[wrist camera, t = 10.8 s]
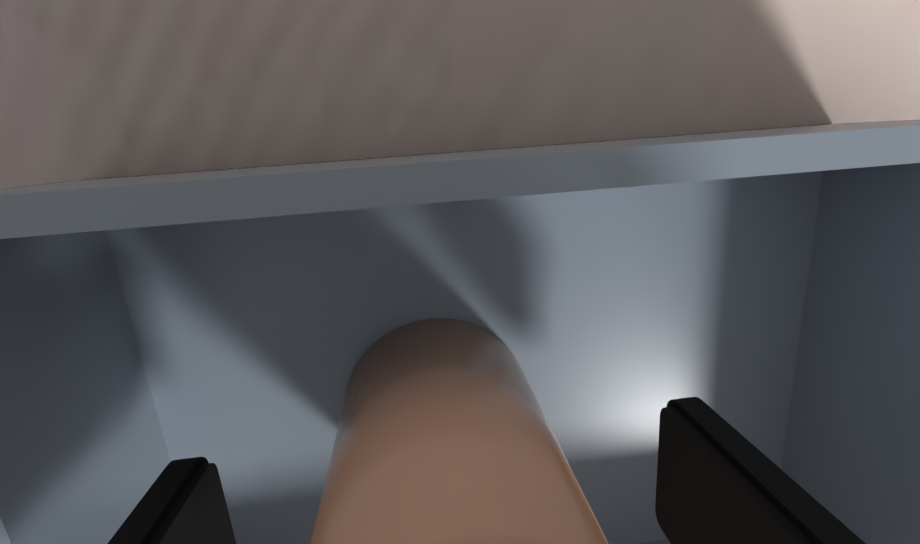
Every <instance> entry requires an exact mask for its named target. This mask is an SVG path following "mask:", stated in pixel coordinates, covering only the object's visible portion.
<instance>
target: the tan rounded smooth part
mask: <svg viewBox="0 0 920 544" xmlns="http://www.w3.org/2000/svg"><path fill="white" fill-rule="evenodd" d="M310 544H609V543H608V541H607V539H606V537H605V535H604V533H603V531H602V529H601V527H600V525H599V523H598V521H597V519H596V517H595V515H594V513H593V511H592V509H591V507H590V505H589V503H588V501H587V499H586V497H585V495H584V493H583V491H582V489H581V487H580V485H579V483H578V481H577V479H576V477H575V475H574V473H573V471H572V469H571V467H570V465H569V463H568V461H567V459H566V457H565V455H564V453H563V451H562V449H561V447H560V445H559V443H558V441H557V439H556V437H555V435H554V433H553V431H552V429H551V427H550V425H549V423H548V421H547V419H546V417H545V415H544V413H543V411H542V409H541V407H540V405H539V403H538V401H537V399H536V397H535V395H534V393H533V391H532V389H531V387H530V385H529V383H528V381H527V379H526V377H525V375H524V373H523V371H522V369H521V367H520V365H519V363H518V361H517V359H516V358H515V356H514V354H513V353H512V352H511V351H510V349H509V348H508V347H507V346H506V345H505V344H504V343H503V342H502V341H501V340H500V339H499V338H498V337H496V336H495V335H493V334H492V333H491V332H489V331H487V330H485V329H483V328H481V327H480V326H477V325H474V324H471V323H469V322H465V321H460V320H456V319H445V318H439V319H426V320H420V321H416V322H412V323H409V324H406V325H403V326H401V327H398V328H396V329H394V330H392V331H391V332H389V333H387V334H385V335H384V336H382V337H381V338H380V339H378V340H377V341H376V342H375V343H374V344H373V345H371V346H370V347H369V348H368V349H367V350H366V352H365V353H364V354H363V355H362V357H361V358H360V359H359V361H358V362H357V364H356V366H355V368H354V369H353V372H352V374H351V377H350V379H349V382H348V387H347V391H346V395H345V399H344V404H343V408H342V412H341V416H340V420H339V425H338V429H337V433H336V437H335V442H334V446H333V450H332V454H331V459H330V463H329V467H328V471H327V475H326V480H325V484H324V488H323V492H322V497H321V501H320V505H319V509H318V514H317V518H316V522H315V526H314V530H313V535H312V539H311V543H310Z"/></svg>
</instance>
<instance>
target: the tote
mask: <svg viewBox="0 0 920 544" xmlns="http://www.w3.org/2000/svg"><path fill="white" fill-rule="evenodd" d="M439 318H445V319H456V320H460V321H465V322H469V323H471V324H474V325H477V326H480V327H481V328H483V329H485V330H487V331H489V332H491V333H492V334H493V335H495V336H496V337H498V338H499V339H500V340H501V341H502V342H503V343H504V344H505V345H506V346H507V347H508V348H509V349H510V351H511V352H512V353H513V354H514V356H515V358H516V359H517V361H518V363H519V365H520V367H521V369H522V371H523V373H524V375H525V377H526V379H527V381H528V383H529V385H530V387H531V389H532V391H533V393H534V395H535V397H536V399H537V401H538V403H539V405H540V407H541V409H542V411H543V413H544V415H545V417H546V419H547V421H548V423H549V425H550V427H551V429H552V431H553V433H554V435H555V437H556V439H557V441H558V443H559V445H560V447H561V449H562V451H563V453H564V455H565V457H566V459H567V461H568V463H569V465H570V467H571V469H572V471H573V473H574V475H575V477H576V479H577V481H578V483H579V485H580V487H581V489H582V491H583V493H584V495H585V497H586V499H587V501H588V503H589V505H590V507H591V509H592V511H593V513H594V515H595V517H596V519H597V521H598V523H599V525H600V527H601V529H602V531H603V533H604V535H605V537H606V539H607V541H608V543H609V544H671V543H670V542H669V540H668V539H667V537H666V536H665V534H664V532H663V531H662V529H661V528H660V526H659V523H658V521H657V517H656V513H655V502H656V483H657V463H658V444H659V425H660V412H661V409H662V408H664V407H667V403H668V401H670V400H672V399H680V398H688V397H698V398H700V399H701V400H703V401H704V402H705V403H706V404H707V405H708V406H709V407H711V408H712V409H713V410H714V411H715V412H716V413H717V414H719V415H720V416H721V417H722V418H723V419H724V420H725V421H727V422H728V423H729V424H730V425H731V426H732V427H733V428H735V429H736V430H737V431H738V432H739V433H740V434H741V435H743V436H744V437H745V438H746V439H747V440H748V441H749V442H751V443H752V444H753V445H754V446H755V447H756V448H757V449H759V450H760V451H761V452H762V453H763V454H764V455H765V456H767V457H768V458H769V459H770V460H771V461H772V462H773V463H774V464H776V465H777V466H778V467H779V468H780V469H781V470H782V471H784V472H785V473H786V474H787V475H788V476H789V477H790V478H792V479H793V480H794V481H795V482H796V483H797V484H798V485H800V486H801V487H802V488H803V489H804V490H805V491H806V492H808V493H809V494H810V495H811V496H812V497H813V498H814V499H816V500H817V501H818V502H819V503H820V504H821V505H822V506H824V507H825V508H826V509H827V510H828V511H829V512H830V513H832V514H833V515H834V516H835V517H836V518H837V519H838V520H840V521H841V522H842V523H843V524H844V525H845V526H846V527H848V528H849V529H850V530H851V531H852V532H853V533H854V534H856V535H857V536H858V537H859V538H860V539H861V540H862V541H864V542H865V543H866V544H920V120H906V121H885V122H863V123H842V124H826V125H813V126H799V127H786V128H772V129H759V130H746V131H732V132H719V133H706V134H692V135H679V136H666V137H652V138H639V139H625V140H612V141H599V142H585V143H572V144H559V145H545V146H532V147H519V148H505V149H492V150H479V151H465V152H452V153H438V154H425V155H412V156H398V157H385V158H372V159H358V160H345V161H332V162H318V163H305V164H291V165H278V166H265V167H251V168H238V169H225V170H211V171H198V172H185V173H171V174H158V175H145V176H131V177H118V178H104V179H91V180H78V181H69V182H60V183H51V184H42V185H33V186H24V187H14V188H5V189H0V544H108V542H109V541H110V540H111V538H112V537H113V536H114V534H115V533H116V532H117V530H118V529H119V528H120V526H121V525H122V524H123V523H124V521H125V520H126V519H127V517H128V516H129V515H130V513H131V512H132V511H133V509H134V508H135V507H136V505H137V504H138V503H139V502H140V500H141V499H142V498H143V496H144V495H145V494H146V492H147V491H148V490H149V488H150V487H151V486H152V484H153V483H154V482H155V481H156V479H157V478H158V477H159V475H160V474H161V473H162V471H163V470H164V469H165V467H166V466H167V465H168V464H169V463H170V462H171V461H173V460H178V459H186V458H194V457H205V458H206V459H207V460H208V463H215V464H216V466H217V468H218V472H219V476H220V480H221V484H222V488H223V492H224V496H225V500H226V504H227V508H228V512H229V516H230V520H231V524H232V528H233V532H234V536H235V540H236V544H310V543H311V539H312V535H313V530H314V526H315V522H316V518H317V514H318V509H319V505H320V501H321V497H322V492H323V488H324V484H325V480H326V475H327V471H328V467H329V463H330V459H331V454H332V450H333V446H334V442H335V437H336V433H337V429H338V425H339V420H340V416H341V412H342V408H343V404H344V399H345V395H346V391H347V387H348V382H349V379H350V377H351V374H352V372H353V369H354V368H355V366H356V364H357V362H358V361H359V359H360V358H361V357H362V355H363V354H364V353H365V352H366V350H367V349H368V348H369V347H370V346H371V345H373V344H374V343H375V342H376V341H377V340H378V339H380V338H381V337H382V336H384V335H385V334H387V333H389V332H391V331H392V330H394V329H396V328H398V327H401V326H403V325H406V324H409V323H412V322H416V321H420V320H426V319H439Z"/></svg>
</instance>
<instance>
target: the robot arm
mask: <svg viewBox="0 0 920 544" xmlns="http://www.w3.org/2000/svg"><path fill="white" fill-rule="evenodd" d="M655 513H656V517H657V521H658V523H659V526H660V528H661V529H662V531H663V532H664V534H665V536H666V537H667V539H668V540H669V542H670V543H671V544H866V543H865V542H864V541H862V540H861V539H860V538H859V537H858V536H857V535H856V534H854V533H853V532H852V531H851V530H850V529H849V528H848V527H846V526H845V525H844V524H843V523H842V522H841V521H840V520H838V519H837V518H836V517H835V516H834V515H833V514H832V513H830V512H829V511H828V510H827V509H826V508H825V507H824V506H822V505H821V504H820V503H819V502H818V501H817V500H816V499H814V498H813V497H812V496H811V495H810V494H809V493H808V492H806V491H805V490H804V489H803V488H802V487H801V486H800V485H798V484H797V483H796V482H795V481H794V480H793V479H792V478H790V477H789V476H788V475H787V474H786V473H785V472H784V471H782V470H781V469H780V468H779V467H778V466H777V465H776V464H774V463H773V462H772V461H771V460H770V459H769V458H768V457H767V456H765V455H764V454H763V453H762V452H761V451H760V450H759V449H757V448H756V447H755V446H754V445H753V444H752V443H751V442H749V441H748V440H747V439H746V438H745V437H744V436H743V435H741V434H740V433H739V432H738V431H737V430H736V429H735V428H733V427H732V426H731V425H730V424H729V423H728V422H727V421H725V420H724V419H723V418H722V417H721V416H720V415H719V414H717V413H716V412H715V411H714V410H713V409H712V408H711V407H709V406H708V405H707V404H706V403H705V402H704V401H703V400H701V399H700V398H698V397H688V398H680V399H672V400H670V401H668V403H667V407H664V408H662V409H661V412H660V425H659V444H658V463H657V483H656V502H655ZM108 544H236V540H235V536H234V532H233V528H232V524H231V520H230V516H229V512H228V508H227V504H226V500H225V496H224V492H223V488H222V484H221V480H220V476H219V472H218V468H217V466H216V464H215V463H208V460H207V459H206V458H205V457H194V458H186V459H178V460H173V461H171V462H170V463H169V464H168V465H167V466H166V467H165V469H164V470H163V471H162V473H161V474H160V475H159V477H158V478H157V479H156V481H155V482H154V483H153V484H152V486H151V487H150V488H149V490H148V491H147V492H146V494H145V495H144V496H143V498H142V499H141V500H140V502H139V503H138V504H137V505H136V507H135V508H134V509H133V511H132V512H131V513H130V515H129V516H128V517H127V519H126V520H125V521H124V523H123V524H122V525H121V526H120V528H119V529H118V530H117V532H116V533H115V534H114V536H113V537H112V538H111V540H110V541H109V542H108Z"/></svg>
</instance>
